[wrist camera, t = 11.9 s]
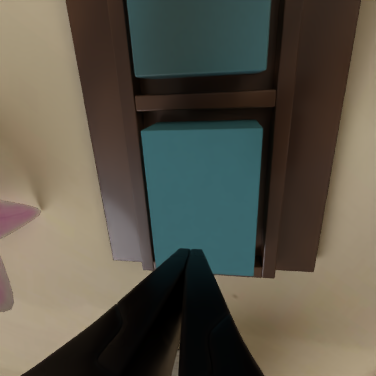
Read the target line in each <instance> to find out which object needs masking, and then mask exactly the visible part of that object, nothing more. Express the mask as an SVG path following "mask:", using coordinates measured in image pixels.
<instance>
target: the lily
mask: <svg viewBox="0 0 376 376" xmlns="http://www.w3.org/2000/svg"><path fill="white" fill-rule="evenodd" d="M40 212H41V211H40V210H39V209H38V208H35V207H32V206H29V205H24V204H20V203H15V202H9V201H3V200H0V239H1V238H3V237H5V236H7V235H9V234H11V233H13V232H14V231H16V230H18V229H19V228H21V227H23V226H24V225H26V224H27V223H29V222H30V221H32V220H33V219H35V218H36V217H37V216H39V214H40ZM13 304H14V299H13V292H12V288H11V285H10V281H9V278H8V275H7V273H6V270H5V267H4V264H3V262H2V259H1V257H0V312H5V311H8V310H10V309H12V306H13Z"/></svg>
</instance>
